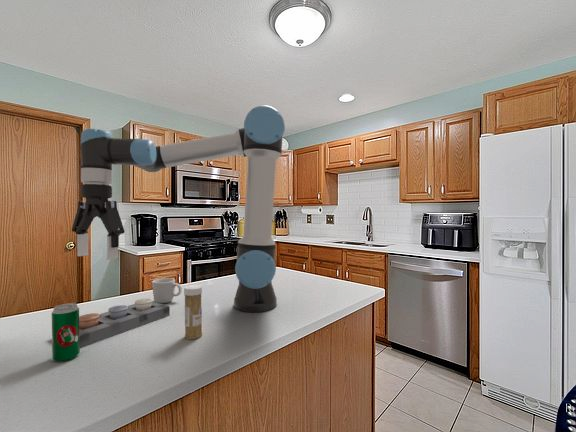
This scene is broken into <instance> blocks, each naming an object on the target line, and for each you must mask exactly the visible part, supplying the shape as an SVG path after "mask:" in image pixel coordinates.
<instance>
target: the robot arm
mask: <svg viewBox="0 0 576 432" xmlns="http://www.w3.org/2000/svg"><path fill="white" fill-rule="evenodd" d="M285 126H286V125H285V120H284V117H283V116H282V114H281V112H280V111H278V109H276V108H274V107H272V106H271V105H265V104H264V105H257V106H255V107H253V108H252V109H251V110H249V112H248V113H247V114H246V116H245V119H244V121H243V128H238V129H236V131H235V132H231V133H225V134H220V135H215V136H214V135H213V136H207V137H203V138H202V137H201V138H197V139H191V140H190V139H189V140H186V141H179V142H174V143H168V144H161V145H155V143H154V142H153V141H152V140H151V139H143V138H117V137H116V138H113V136H112V133H111V132H109V131H107V130H103V129H97V128H85V129H82V131H81V135H80V144H79V147H80V164H81V168H80V182H81V183H83V184H81V186H80V195H81V196H80V197H82V198H85V200H79V201H78V202H77V211H76V212H75V213H76V214H75V218H74V219H73V223H72V226H71V227H72V228H71V231H72V233H74V232H75V234H76V237H77V238H76V241H77V242H76V245H77V246H76V247H77V248H76V249H77V251H76V252H77V257H84V256H89V232H88V230H89V228H90V227H91V224H92V222H93V221H94V220H95V218H98V219H100V220H101V222H102V224H103V225H104V228H105V230H106V232H107V235H106V242H107V243H106V247H107V248H106V250H107V251H106V257H107V258H106V260H108V261H110V260H116V259H117V260H118V259H119V245H120V240H119V239H120V235H122V234H125V228H124V225H123V223H122V218H121V216H120V214H119V210H118V205H117V204H118V203H117V201H116V200H109V199H112V197H113V186H112V185H111V184H112V181H113V180H112V179H113V178H112V177H113V176H112V173H113V172H112V171H113V165H115V166H116V165H126V166H133V167H136V168H137V169H138V168H139V169H141V170H144V171H146V172H148V173H157V172H159V171H161V170H163V169H167V168H170V167H171V168H172V167H177V166H184V165H190V164H195V163H200V162H201V163H202V162H207V161H212V160H218V159H223V158H229V157H234V156H241V157H242V158H245V157H247V168H246V169H247V173H246V186H245V187H246V188H245V189H246V190H245V205H244V219H243V220H244V221H243V235H242V237H241V238H240V239H238V240H237V253H236V254H237V255H236V263H235V266H234V272H235V275H236V278H237V280H238V286H237V289H236V292H235V297H234V298H233V307H234V309H236V310H238V311H240V312H246V313H258V312H259V313H260V312H266V311H270V310H272V309H275V308H276V307H277V305H278V304H277V303H278V302H277V296H276V293H275V290H274V289H275V288H274V285H273V284H272V281H273V279H274V277H275V276H276V275H275V274H276V272H277V271H276V270H277V266H276V263H275V262H276V246H277V245H276V241H274V239H273V238H272V231H273V230H272V229H273V214H274V213H273V212H274V198H275V184H276V164H277V160H278V159H280V157H282V151H283V150H282V149H283V136H284V133H285Z"/></svg>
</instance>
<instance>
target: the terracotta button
mask: <svg viewBox="0 0 576 432" xmlns="http://www.w3.org/2000/svg"><path fill="white" fill-rule="evenodd" d="M100 314H101V313H96V312H95V313H85V314H82V315H79V329H81V330H85V329H88V328H91V327H94V326H97V325H98V318H99V317H100Z"/></svg>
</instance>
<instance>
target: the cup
mask: <svg viewBox="0 0 576 432" xmlns="http://www.w3.org/2000/svg"><path fill="white" fill-rule="evenodd" d="M151 286H152V294H153V300H154V301H153V302H155V303H159V304H166V303H170V302H172V301H173V300H174V297H178V296H180V295H181V294H182V291H183V290H182V286H181V284H180V283H177V282H176V279H175V278H173V277H163V278H156V279H154V280H152V281H151ZM176 287H177V288H178V292H175V290H176Z"/></svg>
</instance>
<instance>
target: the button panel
mask: <svg viewBox="0 0 576 432" xmlns="http://www.w3.org/2000/svg"><path fill="white" fill-rule="evenodd" d="M127 306H128V309H127V316H125V317H122V318H119V319H116V320H113V319H110V312H109V311H108V310H107V311H106V312H101V313H99V314H100V317H99V318H98V325H97V326H94V327H91V328H88V329H85V330H81V329H79V330H80V349H81V348H83V347H86V346H89V345H92V344H95V343H97V342H100V341H103V340H105V339H108V338H111V337H115V336H116V335H120V334H123V333H126V332H128V331H130V330H133V329H136V328H139V327H141V326H144V325H146V324H147V325H148V324H149V323H153V322H155V321H158V320H160V319H164V318H167V317H169V316H170V306H169V305H167V304H166V305H165V304H164V303H156V302H155V301H152V302H151V308H150V309H147V310H144V311H137V310H136V304H135V303H134V304H133V303H132V304H130V305H127Z"/></svg>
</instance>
